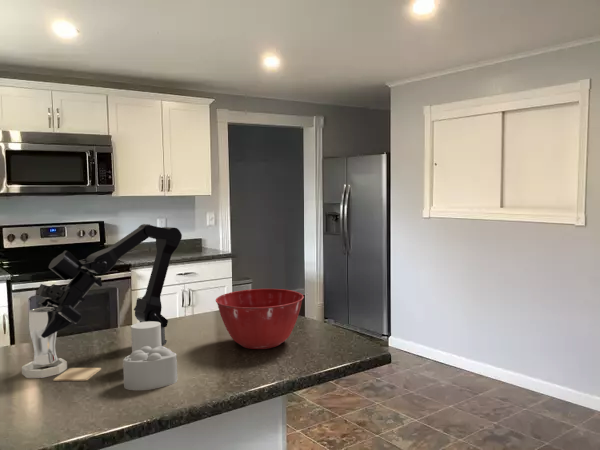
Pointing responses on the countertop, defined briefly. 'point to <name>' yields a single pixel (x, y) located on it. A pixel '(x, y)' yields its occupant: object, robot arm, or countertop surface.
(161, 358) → the lumpy-topped squat cylinder
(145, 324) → the cup
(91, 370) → the coaster
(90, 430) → the countertop surface
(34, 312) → the beer glass
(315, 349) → the countertop surface
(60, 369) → the holder ring
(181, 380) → the countertop surface
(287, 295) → the mixing bowl
